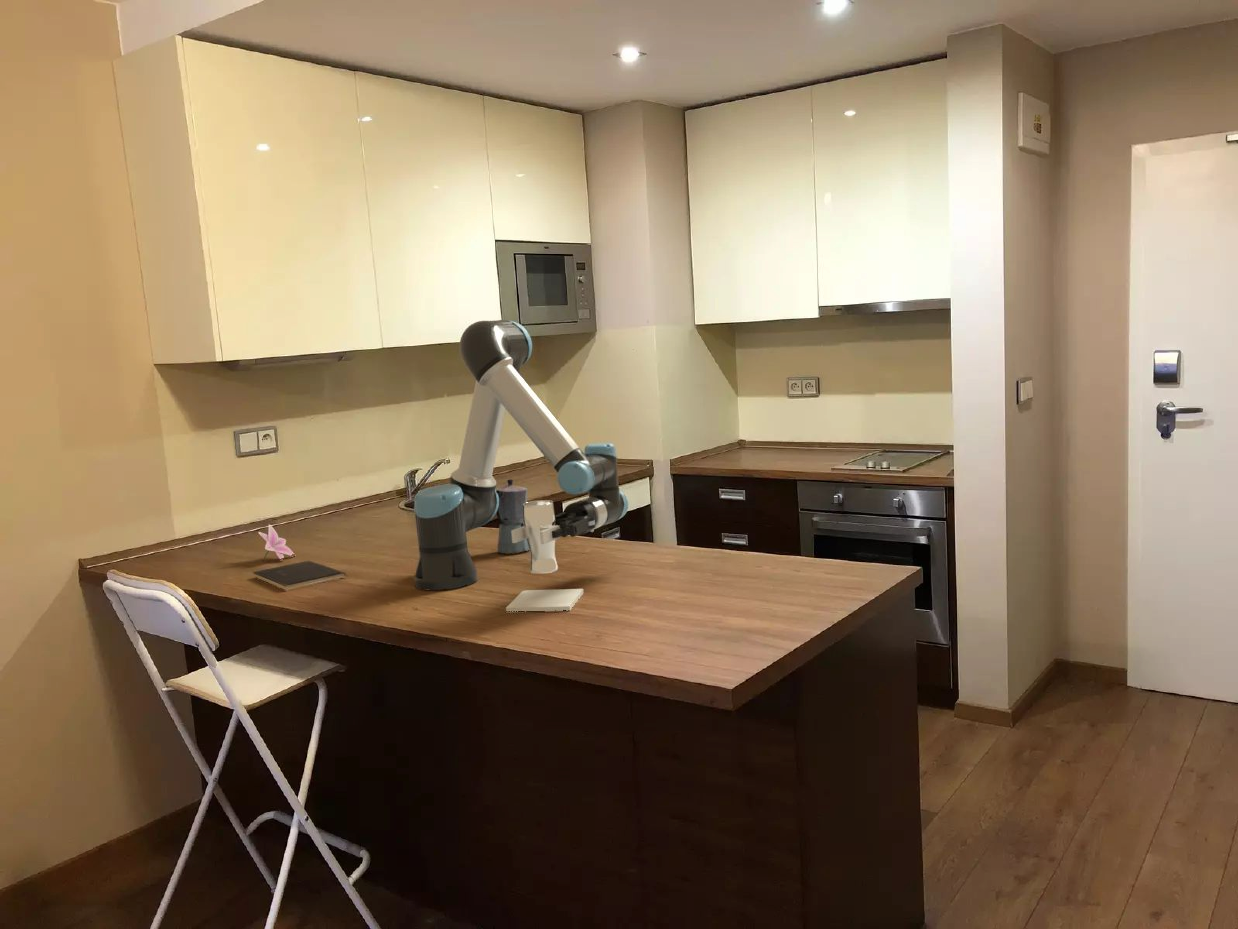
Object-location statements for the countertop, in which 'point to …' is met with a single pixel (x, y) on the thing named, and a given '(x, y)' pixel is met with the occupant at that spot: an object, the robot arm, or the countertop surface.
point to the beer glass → (537, 520)
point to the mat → (545, 600)
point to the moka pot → (510, 517)
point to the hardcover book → (299, 574)
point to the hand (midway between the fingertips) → (527, 537)
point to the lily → (275, 543)
